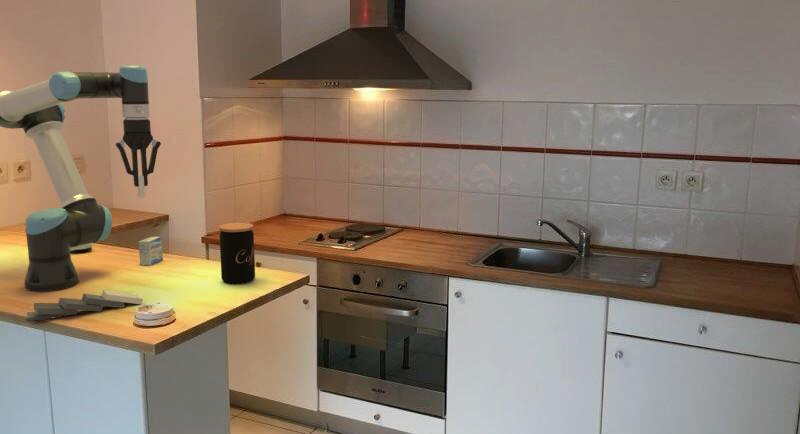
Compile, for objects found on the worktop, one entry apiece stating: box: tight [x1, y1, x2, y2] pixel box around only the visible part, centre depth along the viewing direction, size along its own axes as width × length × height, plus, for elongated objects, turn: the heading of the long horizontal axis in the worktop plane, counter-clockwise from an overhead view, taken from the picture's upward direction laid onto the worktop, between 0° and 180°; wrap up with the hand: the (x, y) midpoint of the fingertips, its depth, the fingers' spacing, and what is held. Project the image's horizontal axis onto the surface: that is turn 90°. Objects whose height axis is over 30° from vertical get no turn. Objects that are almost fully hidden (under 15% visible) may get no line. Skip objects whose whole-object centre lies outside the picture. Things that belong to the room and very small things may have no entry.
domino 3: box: [57, 297, 104, 312], centre depth 191 cm, size 2×5×10 cm
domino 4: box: [81, 293, 126, 309], centre depth 196 cm, size 2×5×10 cm
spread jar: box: [70, 243, 93, 254], centre depth 259 cm, size 12×11×12 cm
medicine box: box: [137, 236, 164, 266], centre depth 245 cm, size 8×4×9 cm, turn 169°
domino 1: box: [26, 311, 69, 322], centre depth 190 cm, size 2×5×10 cm
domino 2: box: [33, 302, 79, 315], centre depth 189 cm, size 2×5×10 cm
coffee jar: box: [219, 222, 256, 286], centre depth 223 cm, size 11×11×18 cm
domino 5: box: [100, 289, 143, 305], centre depth 199 cm, size 2×5×10 cm
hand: (141, 196), depth 211 cm, fingers closed
